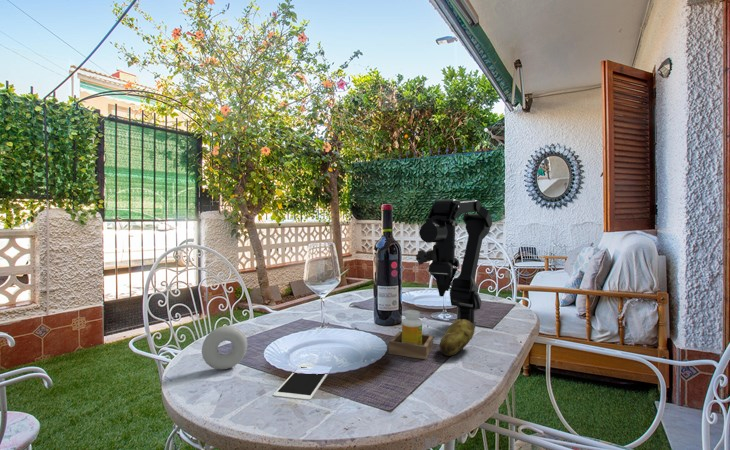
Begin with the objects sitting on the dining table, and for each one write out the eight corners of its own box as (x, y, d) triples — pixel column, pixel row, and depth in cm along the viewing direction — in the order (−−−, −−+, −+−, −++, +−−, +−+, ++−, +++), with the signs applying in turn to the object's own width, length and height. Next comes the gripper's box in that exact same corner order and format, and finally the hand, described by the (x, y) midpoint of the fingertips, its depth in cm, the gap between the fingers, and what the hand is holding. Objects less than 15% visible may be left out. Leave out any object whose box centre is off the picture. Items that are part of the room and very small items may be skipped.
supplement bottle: (421, 352, 96) (422, 314, 96) (400, 350, 97) (401, 313, 97) (422, 345, 101) (422, 309, 101) (402, 343, 102) (403, 308, 102)
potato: (426, 350, 99) (427, 321, 99) (461, 342, 106) (461, 315, 106) (449, 361, 92) (449, 329, 92) (484, 352, 99) (485, 322, 98)
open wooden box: (399, 342, 105) (399, 331, 105) (433, 346, 102) (433, 335, 102) (388, 353, 96) (389, 341, 96) (426, 359, 93) (426, 347, 93)
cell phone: (332, 368, 87) (332, 366, 87) (310, 402, 71) (310, 399, 71) (301, 365, 89) (301, 363, 89) (272, 398, 73) (272, 394, 73)
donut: (202, 375, 81) (202, 330, 81) (200, 370, 84) (201, 326, 84) (248, 367, 86) (249, 325, 86) (246, 362, 89) (246, 321, 89)
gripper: (424, 239, 122) (423, 286, 122) (411, 242, 105) (410, 296, 105) (459, 240, 118) (458, 288, 118) (451, 243, 101) (450, 300, 101)
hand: (443, 293), depth 111 cm, fingers open, 9 cm apart
